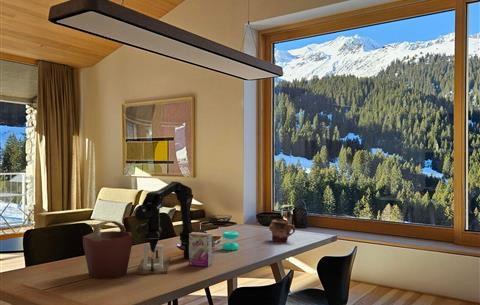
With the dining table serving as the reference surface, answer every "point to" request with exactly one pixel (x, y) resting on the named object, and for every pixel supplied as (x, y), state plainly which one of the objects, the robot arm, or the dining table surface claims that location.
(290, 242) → the dining table surface
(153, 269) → the bent copper wire
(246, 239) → the dining table surface
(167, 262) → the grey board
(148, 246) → the hollow square tube
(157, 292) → the dining table surface
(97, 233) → the bucket
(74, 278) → the dining table surface
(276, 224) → the brown ceramic mug
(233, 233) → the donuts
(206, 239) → the candy bar box
